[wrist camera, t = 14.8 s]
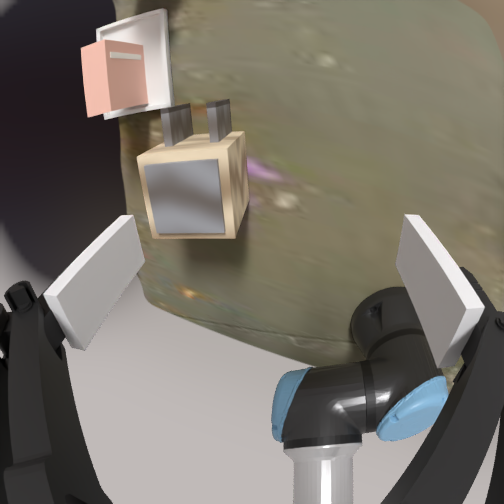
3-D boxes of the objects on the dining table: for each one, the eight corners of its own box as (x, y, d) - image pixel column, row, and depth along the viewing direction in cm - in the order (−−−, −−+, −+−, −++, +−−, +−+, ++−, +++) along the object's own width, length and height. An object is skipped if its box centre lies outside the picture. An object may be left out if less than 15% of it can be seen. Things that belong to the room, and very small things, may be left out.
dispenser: (249, 199, 44) (234, 241, 33) (184, 201, 45) (150, 241, 34) (242, 98, 36) (222, 103, 26) (171, 105, 38) (127, 116, 27)
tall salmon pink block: (148, 103, 37) (111, 111, 29) (127, 107, 38) (87, 117, 29) (143, 45, 32) (104, 39, 24) (121, 51, 33) (80, 48, 24)
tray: (174, 106, 38) (170, 106, 36) (109, 118, 39) (104, 119, 38) (167, 10, 30) (163, 7, 29) (101, 30, 31) (96, 29, 30)
